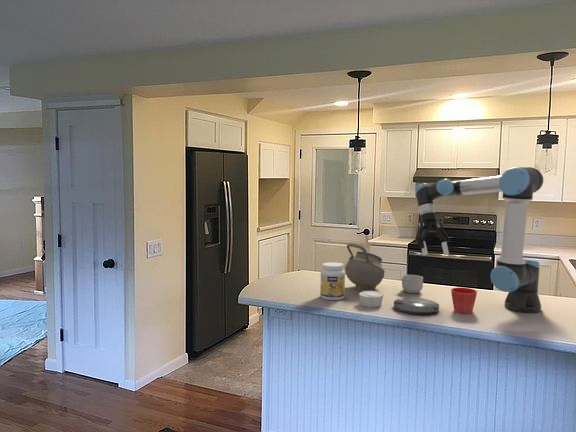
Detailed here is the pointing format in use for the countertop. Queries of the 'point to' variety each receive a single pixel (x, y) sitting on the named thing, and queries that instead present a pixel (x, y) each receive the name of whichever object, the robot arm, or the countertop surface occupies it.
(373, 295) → the ramekin
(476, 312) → the countertop surface
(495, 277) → the robot arm
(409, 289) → the teacup
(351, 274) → the pot
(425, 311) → the disc
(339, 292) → the supplement tub
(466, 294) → the flower pot
